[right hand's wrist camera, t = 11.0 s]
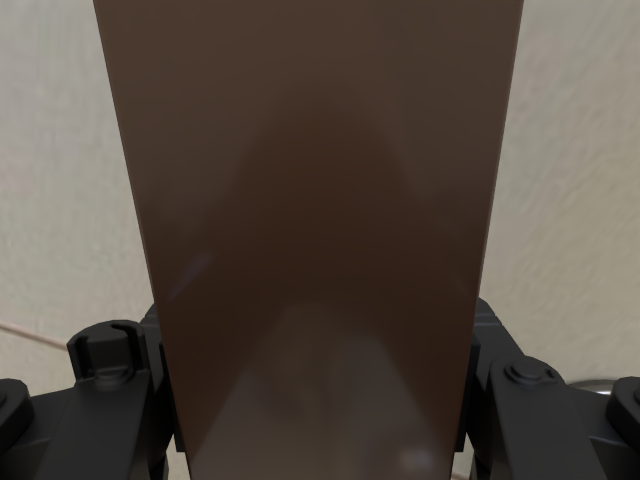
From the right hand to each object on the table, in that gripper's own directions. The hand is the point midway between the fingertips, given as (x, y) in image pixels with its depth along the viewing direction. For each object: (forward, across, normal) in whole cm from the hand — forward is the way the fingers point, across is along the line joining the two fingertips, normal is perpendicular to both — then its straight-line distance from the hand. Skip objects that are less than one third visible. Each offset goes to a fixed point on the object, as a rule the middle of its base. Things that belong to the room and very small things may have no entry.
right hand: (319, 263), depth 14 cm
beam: (-1, 0, -12) cm, 12 cm away
